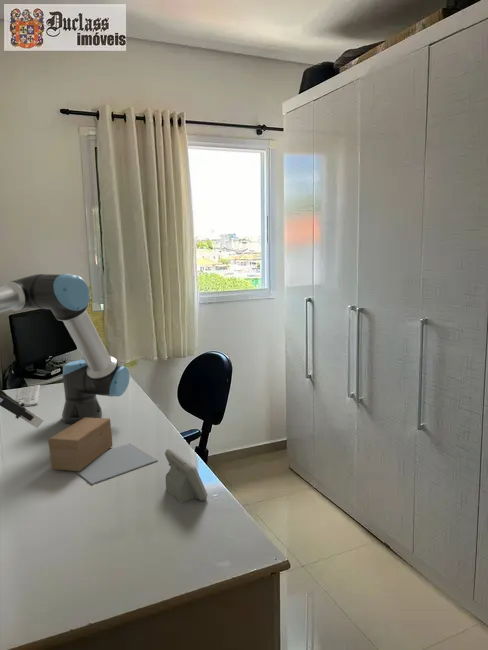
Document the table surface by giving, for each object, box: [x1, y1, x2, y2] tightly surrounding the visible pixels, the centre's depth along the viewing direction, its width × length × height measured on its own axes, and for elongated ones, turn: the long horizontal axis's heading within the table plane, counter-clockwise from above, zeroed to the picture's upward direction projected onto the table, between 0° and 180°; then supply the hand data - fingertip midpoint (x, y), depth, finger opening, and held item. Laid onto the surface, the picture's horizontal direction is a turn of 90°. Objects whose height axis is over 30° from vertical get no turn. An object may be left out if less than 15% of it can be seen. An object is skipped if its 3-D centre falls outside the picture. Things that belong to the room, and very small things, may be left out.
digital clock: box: [164, 448, 208, 503], centre depth 135 cm, size 16×9×11 cm, turn 22°
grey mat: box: [74, 443, 158, 486], centre depth 154 cm, size 22×18×1 cm
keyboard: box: [14, 384, 41, 408], centre depth 223 cm, size 29×10×2 cm, turn 20°
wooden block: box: [48, 417, 113, 472], centre depth 157 cm, size 10×10×20 cm
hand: (39, 423), depth 139 cm, fingers closed
